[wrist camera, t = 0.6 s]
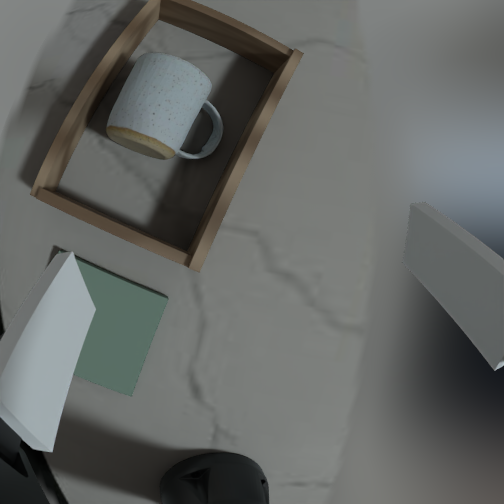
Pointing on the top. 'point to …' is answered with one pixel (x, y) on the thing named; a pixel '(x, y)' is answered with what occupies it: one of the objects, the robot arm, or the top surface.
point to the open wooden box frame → (283, 66)
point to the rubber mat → (117, 328)
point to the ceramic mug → (162, 107)
